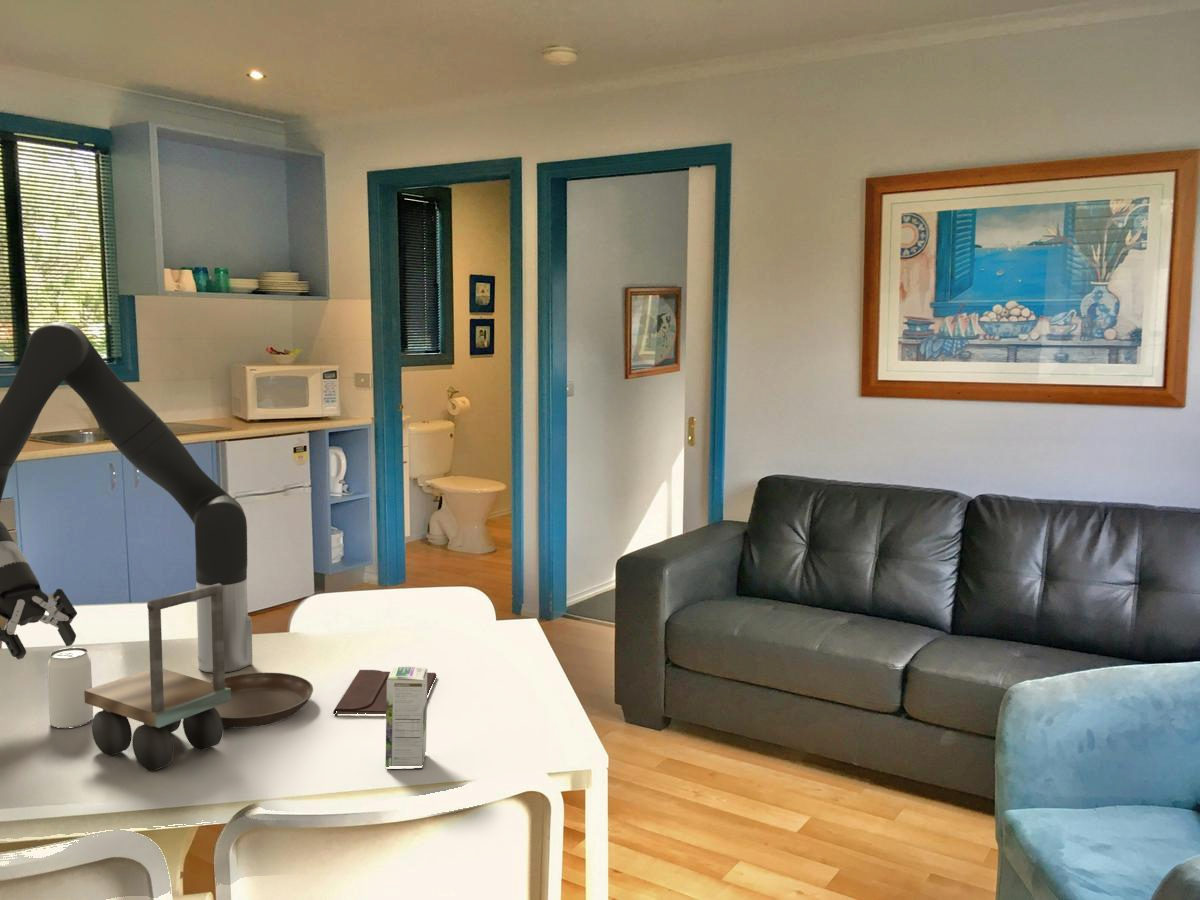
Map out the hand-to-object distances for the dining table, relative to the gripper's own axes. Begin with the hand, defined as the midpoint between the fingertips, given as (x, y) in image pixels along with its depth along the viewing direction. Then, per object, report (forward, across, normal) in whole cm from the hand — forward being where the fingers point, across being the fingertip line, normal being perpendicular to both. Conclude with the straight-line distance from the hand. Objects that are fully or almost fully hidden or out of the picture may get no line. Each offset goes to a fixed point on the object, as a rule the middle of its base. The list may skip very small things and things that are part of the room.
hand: (47, 649), depth 174 cm
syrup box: (+52, +19, -36) cm, 67 cm away
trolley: (+28, +1, -12) cm, 30 cm away
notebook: (+38, +38, -21) cm, 58 cm away
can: (+12, 0, +4) cm, 13 cm away
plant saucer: (+27, +20, -10) cm, 35 cm away
